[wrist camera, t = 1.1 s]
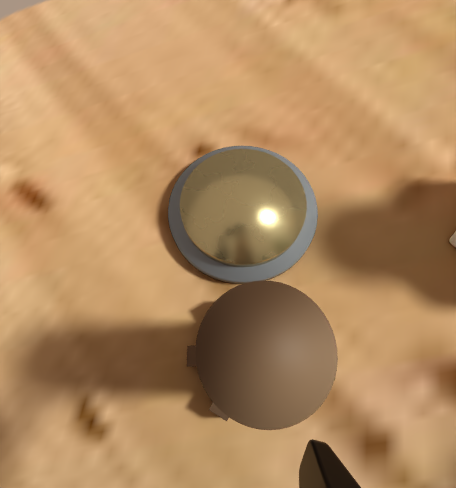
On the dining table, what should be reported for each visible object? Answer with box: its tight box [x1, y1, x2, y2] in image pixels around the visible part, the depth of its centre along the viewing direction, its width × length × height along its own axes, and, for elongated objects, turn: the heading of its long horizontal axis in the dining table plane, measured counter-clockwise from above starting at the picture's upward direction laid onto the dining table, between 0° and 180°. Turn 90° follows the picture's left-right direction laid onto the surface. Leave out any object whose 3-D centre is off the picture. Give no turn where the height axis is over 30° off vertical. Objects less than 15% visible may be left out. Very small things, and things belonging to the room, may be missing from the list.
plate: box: [168, 146, 318, 284], centre depth 25 cm, size 11×11×1 cm
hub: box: [180, 149, 307, 267], centre depth 24 cm, size 9×9×1 cm
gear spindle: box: [187, 281, 338, 430], centre depth 16 cm, size 8×7×12 cm
